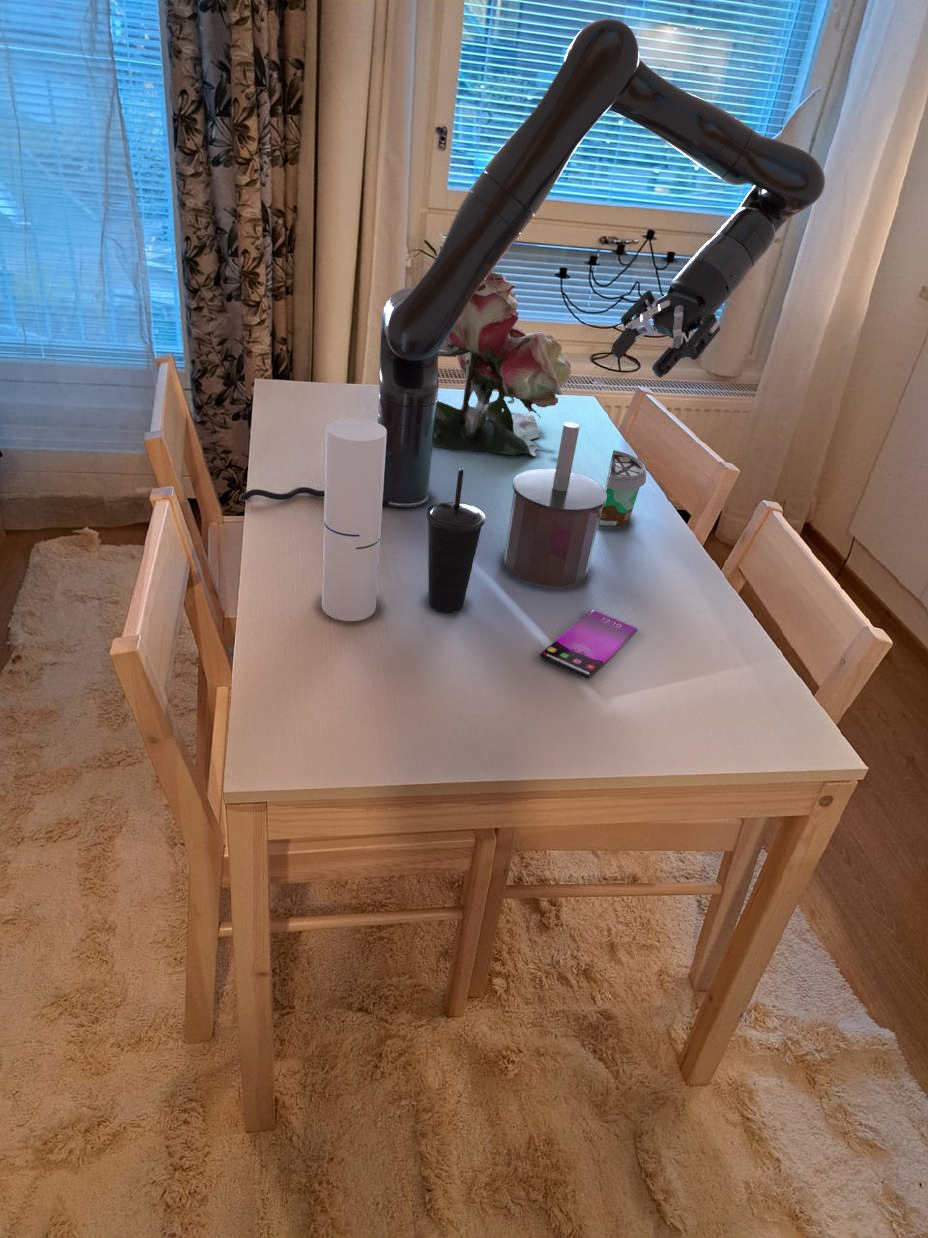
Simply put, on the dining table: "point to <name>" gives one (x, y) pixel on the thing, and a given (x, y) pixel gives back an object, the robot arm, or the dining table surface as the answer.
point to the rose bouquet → (499, 375)
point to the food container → (621, 489)
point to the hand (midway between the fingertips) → (635, 363)
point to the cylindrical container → (352, 517)
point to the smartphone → (589, 643)
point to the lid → (561, 482)
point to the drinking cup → (451, 550)
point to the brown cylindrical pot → (549, 544)
